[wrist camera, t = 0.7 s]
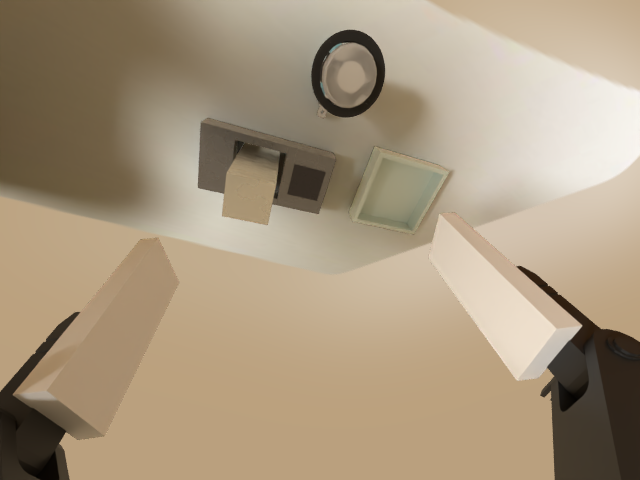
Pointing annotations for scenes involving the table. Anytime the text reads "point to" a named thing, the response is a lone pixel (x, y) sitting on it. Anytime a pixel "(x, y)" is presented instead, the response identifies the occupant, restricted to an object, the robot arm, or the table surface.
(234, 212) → the block
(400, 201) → the parts tray
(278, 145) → the dark gray slotted holder
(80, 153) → the table surface
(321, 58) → the push button
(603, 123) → the table surface
